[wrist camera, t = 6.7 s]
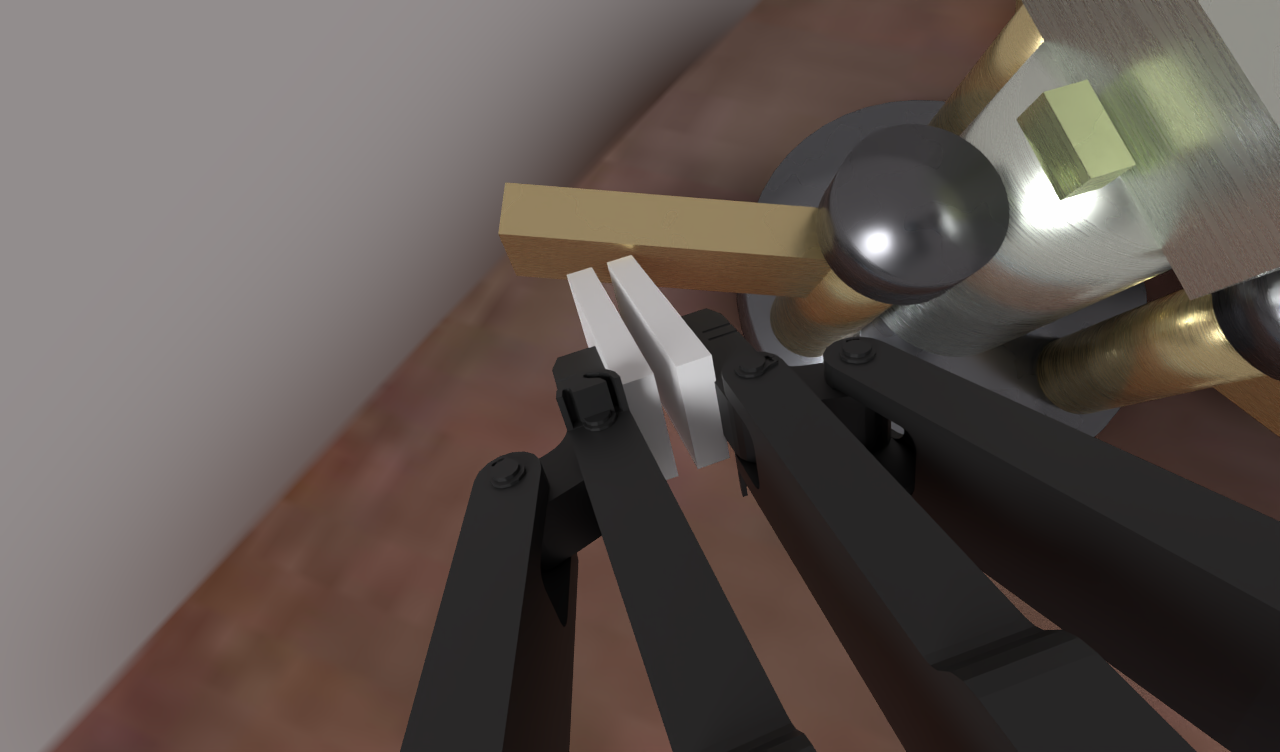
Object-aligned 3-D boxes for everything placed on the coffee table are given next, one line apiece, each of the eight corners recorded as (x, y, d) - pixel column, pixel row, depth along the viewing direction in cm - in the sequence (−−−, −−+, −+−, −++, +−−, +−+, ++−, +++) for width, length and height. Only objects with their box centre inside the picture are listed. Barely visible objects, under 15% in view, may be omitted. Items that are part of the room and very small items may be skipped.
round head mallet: (862, 272, 25) (1003, 131, 16) (864, 376, 24) (1015, 289, 15) (542, 247, 24) (496, 89, 15) (530, 350, 23) (473, 247, 14)
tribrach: (983, 47, 30) (1334, -405, 15) (1209, 468, 26) (2021, 404, 11) (665, 135, 28) (714, -278, 14) (846, 603, 24) (1217, 750, 9)
